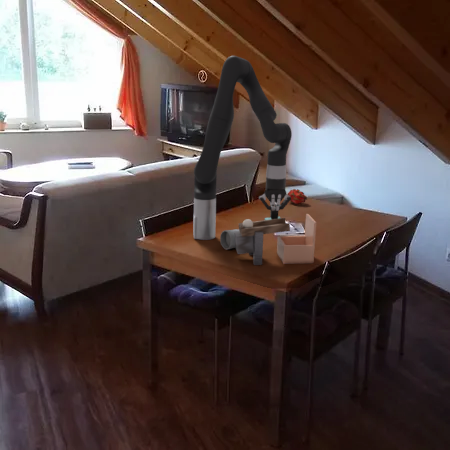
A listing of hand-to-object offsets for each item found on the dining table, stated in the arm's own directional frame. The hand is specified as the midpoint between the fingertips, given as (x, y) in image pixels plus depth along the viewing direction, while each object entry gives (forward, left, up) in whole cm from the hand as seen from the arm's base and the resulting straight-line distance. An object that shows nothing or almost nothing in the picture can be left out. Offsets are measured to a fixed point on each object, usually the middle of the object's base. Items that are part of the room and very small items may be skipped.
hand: (274, 219), depth 216 cm
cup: (+7, -8, -13) cm, 17 cm away
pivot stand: (-8, -8, -13) cm, 18 cm away
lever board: (-6, -4, -9) cm, 11 cm away
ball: (-12, -8, +1) cm, 14 cm away
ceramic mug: (-16, +7, -13) cm, 22 cm away
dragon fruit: (+29, +75, -13) cm, 81 cm away
